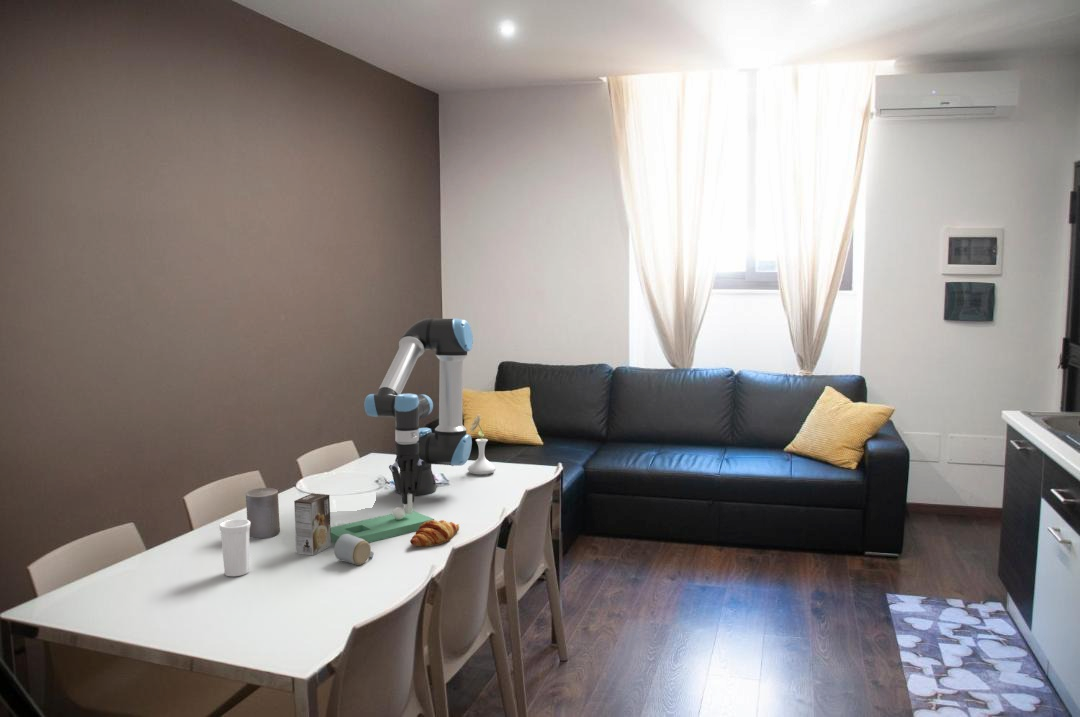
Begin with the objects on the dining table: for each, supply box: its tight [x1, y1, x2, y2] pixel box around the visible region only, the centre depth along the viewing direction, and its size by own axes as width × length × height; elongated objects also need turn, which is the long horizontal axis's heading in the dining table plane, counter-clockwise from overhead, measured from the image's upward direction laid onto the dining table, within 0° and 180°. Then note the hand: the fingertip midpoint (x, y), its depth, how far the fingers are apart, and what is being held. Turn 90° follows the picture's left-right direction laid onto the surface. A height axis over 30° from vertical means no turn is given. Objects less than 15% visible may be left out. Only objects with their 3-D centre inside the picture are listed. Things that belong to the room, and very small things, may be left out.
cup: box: [218, 518, 251, 577], centre depth 234 cm, size 8×8×14 cm
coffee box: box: [293, 492, 332, 556], centre depth 254 cm, size 9×6×16 cm
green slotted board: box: [330, 509, 435, 544], centre depth 272 cm, size 32×14×2 cm, turn 132°
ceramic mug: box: [333, 534, 375, 566], centre depth 245 cm, size 11×8×8 cm
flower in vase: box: [467, 413, 496, 476], centre depth 345 cm, size 13×11×25 cm
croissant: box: [409, 519, 460, 548], centre depth 264 cm, size 21×10×8 cm, turn 146°
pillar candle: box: [245, 487, 281, 540], centre depth 268 cm, size 10×10×15 cm
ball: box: [392, 506, 405, 520], centre depth 276 cm, size 4×4×4 cm
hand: (408, 513), depth 278 cm, fingers closed
